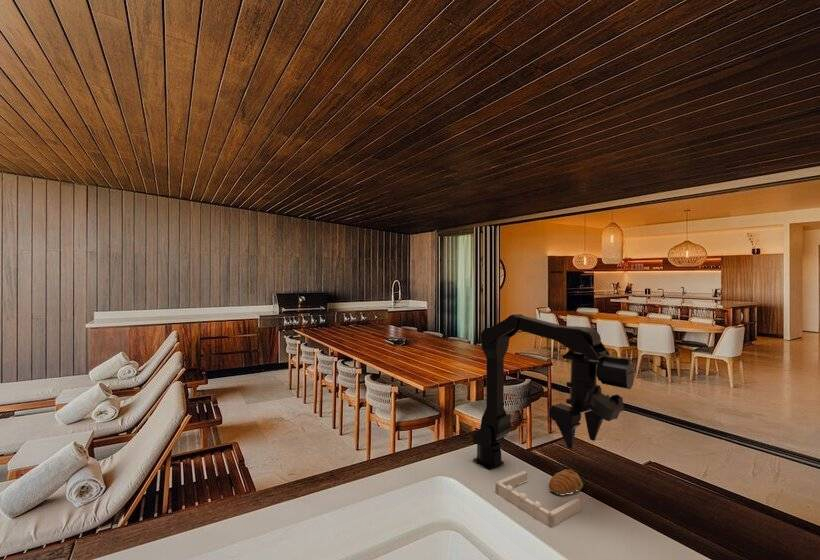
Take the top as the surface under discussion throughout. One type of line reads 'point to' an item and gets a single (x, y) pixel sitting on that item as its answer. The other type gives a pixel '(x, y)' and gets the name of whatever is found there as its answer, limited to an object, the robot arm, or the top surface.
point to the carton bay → (534, 508)
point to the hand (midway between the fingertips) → (581, 444)
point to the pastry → (565, 482)
